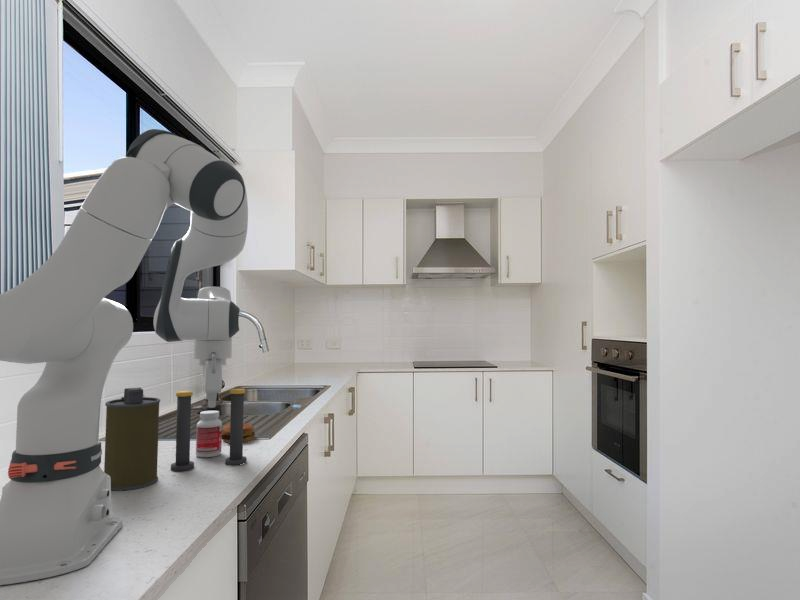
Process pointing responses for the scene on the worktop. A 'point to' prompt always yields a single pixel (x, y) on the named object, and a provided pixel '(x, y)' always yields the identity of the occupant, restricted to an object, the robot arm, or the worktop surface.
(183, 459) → the post left
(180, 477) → the worktop surface
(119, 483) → the canister
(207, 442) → the pill bottle
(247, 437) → the burger
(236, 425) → the post right
